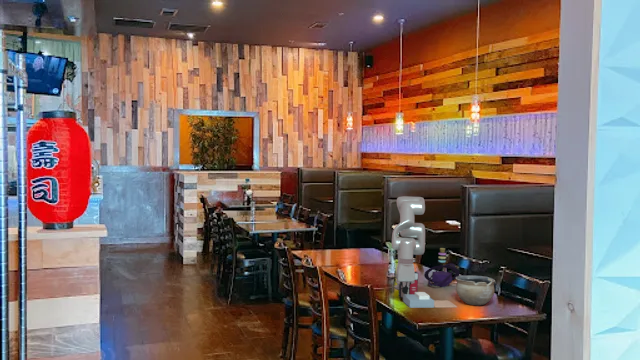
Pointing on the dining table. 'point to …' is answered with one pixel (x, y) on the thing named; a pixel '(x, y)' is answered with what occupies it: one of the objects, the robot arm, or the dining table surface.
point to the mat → (443, 303)
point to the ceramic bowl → (475, 289)
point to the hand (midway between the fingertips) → (405, 293)
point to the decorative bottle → (441, 273)
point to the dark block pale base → (410, 287)
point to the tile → (421, 295)
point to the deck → (417, 301)
